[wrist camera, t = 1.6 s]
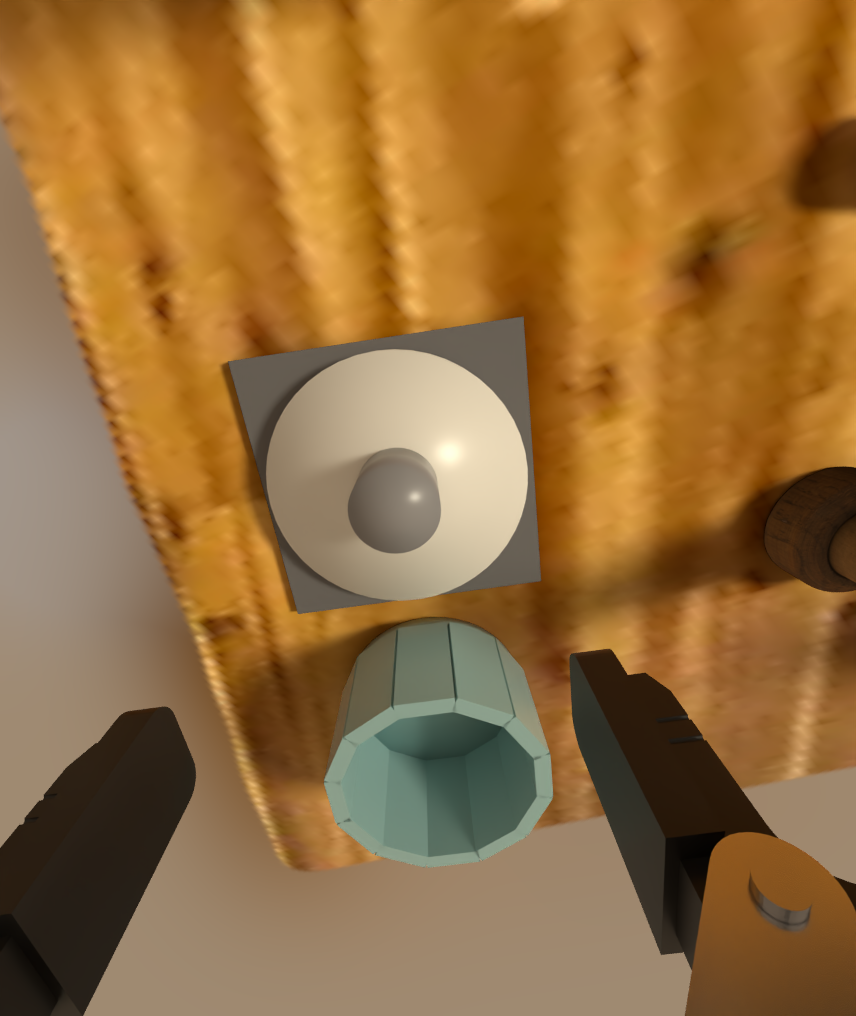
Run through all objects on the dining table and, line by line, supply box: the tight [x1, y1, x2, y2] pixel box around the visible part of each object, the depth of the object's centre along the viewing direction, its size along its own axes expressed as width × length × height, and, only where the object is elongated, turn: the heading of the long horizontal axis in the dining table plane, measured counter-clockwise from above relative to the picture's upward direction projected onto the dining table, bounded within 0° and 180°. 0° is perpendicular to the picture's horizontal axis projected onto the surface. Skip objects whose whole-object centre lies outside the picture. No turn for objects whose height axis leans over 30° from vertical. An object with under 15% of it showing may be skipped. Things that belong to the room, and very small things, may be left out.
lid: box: [266, 349, 528, 601], centre depth 22 cm, size 13×13×4 cm
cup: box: [324, 617, 553, 868], centre depth 26 cm, size 11×11×7 cm
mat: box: [228, 317, 541, 614], centre depth 25 cm, size 14×14×1 cm
